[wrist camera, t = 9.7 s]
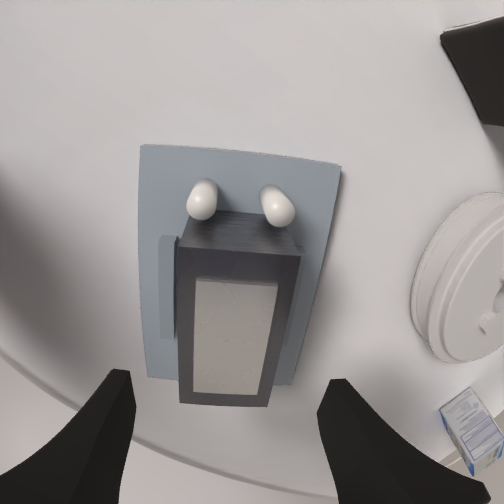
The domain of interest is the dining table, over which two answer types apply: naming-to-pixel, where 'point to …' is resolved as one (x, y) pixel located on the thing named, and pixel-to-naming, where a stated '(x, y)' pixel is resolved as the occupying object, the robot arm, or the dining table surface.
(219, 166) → the gray peg board
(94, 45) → the dining table surface
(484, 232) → the lid
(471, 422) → the medicine box
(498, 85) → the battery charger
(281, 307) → the block
